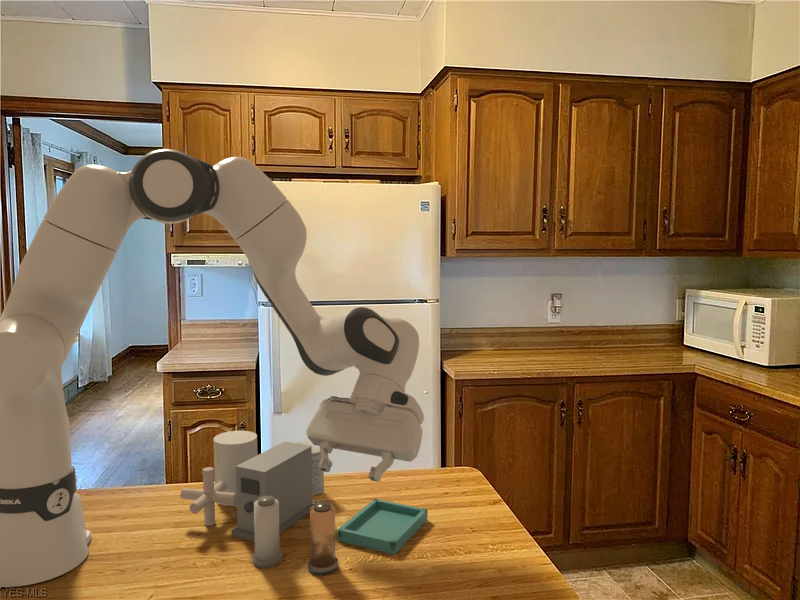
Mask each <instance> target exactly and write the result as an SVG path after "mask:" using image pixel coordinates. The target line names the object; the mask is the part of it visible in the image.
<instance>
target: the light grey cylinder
mask: <svg viewBox="0 0 800 600" xmlns="http://www.w3.org/2000/svg"><path fill="white" fill-rule="evenodd" d="M257 455H259V453H258V435H257V433H256V432H253V431H249V430H230V431H226V432H225V431H224V432H221V433H219V434H217V435H215V436H214V437H213V468H214V485H216V484H217V483H218V482H219V481H225V482H226V484H227V488H226V489H225V490H224V491H223V492H230V493H237V489H236V466H237V465H239V464H241V463H243V462H245V461H247V460H249V459H251V458H253V457H255V456H257ZM216 503H217V504H219V505H221V506H225V507H237V501H236V503H235V504H231V503H220V502H216Z"/></svg>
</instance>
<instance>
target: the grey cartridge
mask: <svg viewBox="0 0 800 600" xmlns="http://www.w3.org/2000/svg"><path fill="white" fill-rule="evenodd" d="M254 533H255V542H254V552H253V553H252V565H253V566H255V567H256V568H259V569H273V568H274V567H278V566H279V565H280V564H281V563H282V562H283V551H282V550H281V549H280V548H281V547H280V534H279V501H278V500H277V499H275V498H274V497H273V496H262V497H260V498H258V500H257V501H255V502H254Z"/></svg>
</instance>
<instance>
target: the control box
mask: <svg viewBox="0 0 800 600" xmlns="http://www.w3.org/2000/svg"><path fill="white" fill-rule="evenodd" d="M296 443H297V442H291V441H282V442H281V443H279V444H277V445H275V446H273V447H271V448H270V449H267V450H265V451H262V452H261V453H258V455H257V456H255V457H253V458H251V459H249V460H247V461H245V462H243V463H241V464H239V465H237V466H236V489H237V506H236V514H237V515H236V519H237V521H236V522H237V526H236V527H234V528H233V529H231V537H236V538H238V539H243V540H245V541H250V542H253V543H255V533H254V502H255V501H257V500H258V498H260V497H262V496H273V497H274V498H275V499H277V500H278V501H279V535H280V534H282V533H283V532H285V531H286V530H287V529H289V528H290V527H292V526H293V525H294V524H295V523H297V522H298V521H300V520H301V519H302V517H303V518H304V517H305V516H307V515H308V514H310V508H311V507H312V506H313V505H314V504H315V503H317V502H318V501H315V500H313V496H312V448H311V446H308V445H302V444H296ZM299 519H300V520H299Z"/></svg>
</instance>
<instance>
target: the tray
mask: <svg viewBox="0 0 800 600" xmlns="http://www.w3.org/2000/svg"><path fill="white" fill-rule="evenodd" d="M427 521H428V509H427V508H422V507H418V506H417V507H416V506H412V505H409V504H402V503H398V502H392V501H388V500H383V499H378V498H374V499H372V501H370V502H369V503H368V504H367V505H365V507H363V508H362V509H360V510H359V511H358V512H357V513H356V514H354V515H353V516H352V517H351V518H350V519H348V521H346V522H345V523H343V525H341V526H340V527H339V528H338V529H337V530H336V531H337V532H336V533H337V542H340V543H345V544H348V545H352V546H356V547H361V548H365V549H369V550H374V551H378V552H381V553H385V554H389V555H393V556H394V555H396V554H397V553H398V552H399V551H400V550H401V549H402V548H403V547H404V546H405V544H406V543H407V542H409V541H410V539H411V538H412V537H413V536H414V535H415V534H416V533H417V532H418V531H419V530H420V529H421V528H422V526H423V525H424V524H426V523H427Z"/></svg>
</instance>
